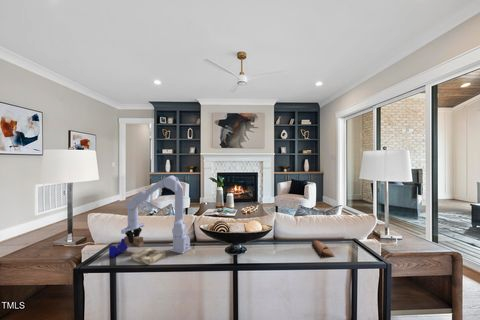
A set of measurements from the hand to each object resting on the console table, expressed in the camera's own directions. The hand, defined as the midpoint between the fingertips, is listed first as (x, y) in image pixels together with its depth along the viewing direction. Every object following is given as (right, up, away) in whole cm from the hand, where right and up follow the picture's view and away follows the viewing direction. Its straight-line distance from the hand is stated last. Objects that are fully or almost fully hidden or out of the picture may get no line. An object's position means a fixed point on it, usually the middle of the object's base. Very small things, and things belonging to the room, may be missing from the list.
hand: (133, 242), depth 142 cm
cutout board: (+12, -6, -9) cm, 16 cm away
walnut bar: (0, -2, 0) cm, 2 cm away
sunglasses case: (+111, -6, 0) cm, 111 cm away
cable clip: (-9, -6, -1) cm, 10 cm away
